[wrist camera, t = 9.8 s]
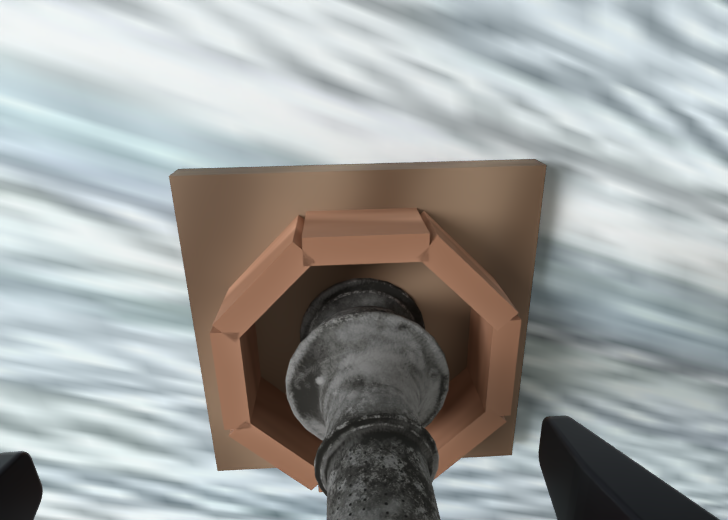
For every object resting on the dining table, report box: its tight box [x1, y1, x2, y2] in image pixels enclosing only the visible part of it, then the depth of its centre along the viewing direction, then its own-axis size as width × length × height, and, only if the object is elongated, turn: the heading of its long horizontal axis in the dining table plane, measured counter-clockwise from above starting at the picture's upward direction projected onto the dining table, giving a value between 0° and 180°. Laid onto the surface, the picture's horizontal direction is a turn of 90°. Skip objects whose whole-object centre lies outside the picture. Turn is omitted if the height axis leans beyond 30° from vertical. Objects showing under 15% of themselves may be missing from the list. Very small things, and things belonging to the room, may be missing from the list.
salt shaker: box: [285, 278, 449, 520], centre depth 16 cm, size 6×6×12 cm
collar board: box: [169, 159, 546, 492], centre depth 21 cm, size 14×14×4 cm
